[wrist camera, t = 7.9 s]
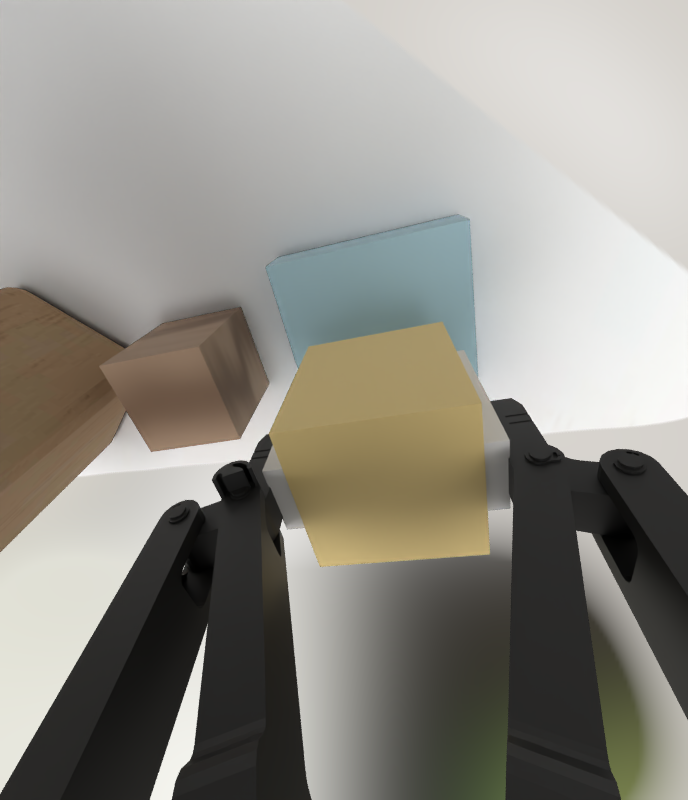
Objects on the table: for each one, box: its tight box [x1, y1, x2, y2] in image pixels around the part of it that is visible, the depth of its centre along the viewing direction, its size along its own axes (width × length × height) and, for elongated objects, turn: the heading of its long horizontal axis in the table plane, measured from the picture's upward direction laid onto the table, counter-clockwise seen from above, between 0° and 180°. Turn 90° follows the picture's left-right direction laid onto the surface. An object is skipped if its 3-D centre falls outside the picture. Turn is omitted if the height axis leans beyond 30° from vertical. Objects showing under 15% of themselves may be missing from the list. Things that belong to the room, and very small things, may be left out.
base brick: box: [266, 215, 478, 377], centre depth 24 cm, size 11×11×3 cm
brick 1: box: [99, 307, 269, 452], centre depth 24 cm, size 6×6×7 cm
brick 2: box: [269, 322, 490, 567], centre depth 15 cm, size 6×6×7 cm
